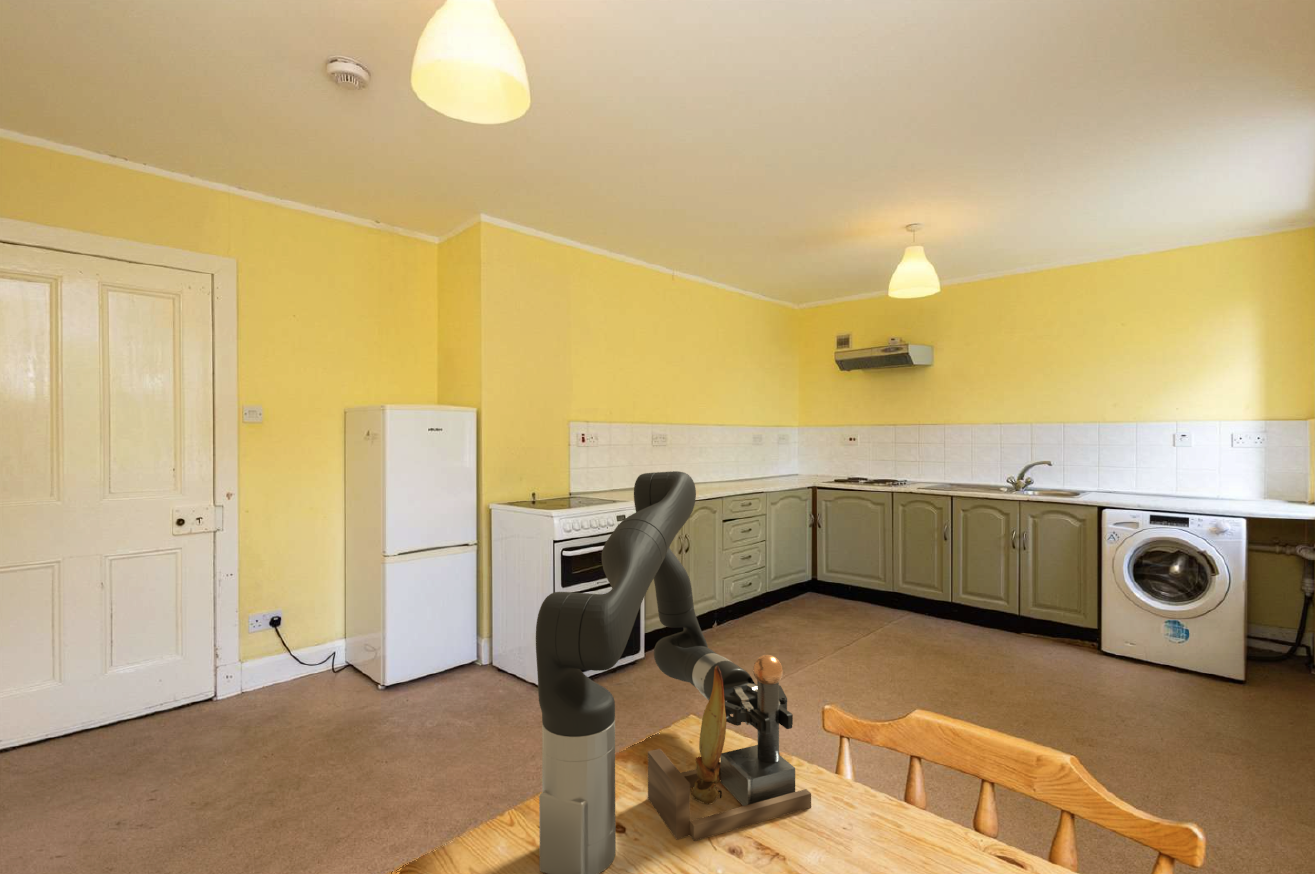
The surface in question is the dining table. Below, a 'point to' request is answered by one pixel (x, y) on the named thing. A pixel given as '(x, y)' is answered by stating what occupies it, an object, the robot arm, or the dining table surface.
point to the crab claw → (711, 744)
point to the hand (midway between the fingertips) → (779, 724)
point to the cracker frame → (674, 809)
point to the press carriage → (760, 747)
